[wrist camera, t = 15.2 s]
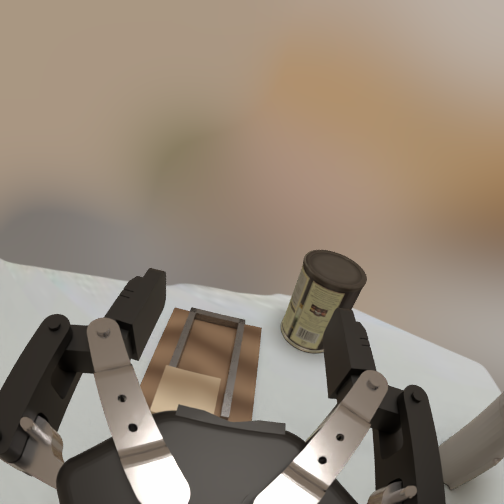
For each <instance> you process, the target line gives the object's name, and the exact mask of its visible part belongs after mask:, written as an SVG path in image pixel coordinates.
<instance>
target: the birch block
mask: <svg viewBox="0 0 504 504" xmlns="http://www.w3.org/2000/svg"><path fill="white" fill-rule="evenodd" d="M220 381H221V379H220V378H216V377H211V376H207V375H203V374H199V373H195V372H191V371H187V370H183V369H179V368H176V367H172V366H168V365H166V367H165V370H164V373H163V375H162V378H161V381H160V383H159V386H158V389H157V392H156V394H155V397H154V400H153V403H152V406H151V408H150V412H151V414H154V413H157V412H162V411H170V410H177V408H178V404H180V405H184V406H188V407H192V408H196V409H201V410H205V411H207V412H209V413H211V414H214V411H215V406H216V401H217V396H218V391H219V386H220Z"/></svg>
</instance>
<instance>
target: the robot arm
mask: <svg viewBox="0 0 504 504" xmlns="http://www.w3.org/2000/svg"><path fill="white" fill-rule="evenodd" d="M165 300H166V272H164V271H161V270H156V269H152V268H149V269H148V271H147V272H146V274H145V275H144V277H140V276H136V277H135V278H133V279H132V280H130V281H129V282H128V283H127V285H126V286H125V287H124V290H122V292H121V293H120V295H119V296H118V298H117V299H116V300H115V302H114V303H113V305H112V306H111V308H110V309H109V311H108V312H107V314H106V315H105V317H104V318H98V319H96V320H94V321H92V322H91V323H90V324H89V325H88V326H83V325H70V322H69V320H68V318H67V317H65V316H64V315H61V314H54V315H50V316H48V317H47V318H46V319H44V321H43V322H42V323H41V325H40V326H39V328H38V329H37V331H36V332H35V334H34V335H33V337H32V338H31V340H30V341H29V343H28V344H27V346H26V347H25V349H24V351H23V352H22V354H21V355H20V357H19V359H18V360H17V362H16V364H15V365H14V367H13V369H12V370H11V372H10V374H9V376H8V377H7V379H6V381H5V383H4V385H3V386H2V388H1V390H0V459H1V460H3V461H4V462H6V463H7V464H9V465H10V466H12V467H14V468H15V469H17V470H19V471H22V472H24V473H25V474H27V475H29V476H34V477H35V478H37V479H39V480H41V481H42V482H44V483H46V484H48V485H50V486H51V487H53V488H55V489H57V493H58V498H59V503H60V504H358V503H357V502H356V501H355V500H354V499H353V497H352V496H351V495H350V494H349V493H348V492H347V491H346V490H345V488H344V487H343V486H342V485H341V484H340V483H339V482H338V480H337V479H336V477H337V475H338V474H339V473H340V471H341V470H342V469H343V467H344V466H345V465H346V463H347V462H348V460H349V459H350V457H351V456H352V455H353V453H354V452H355V450H356V449H357V447H358V446H359V444H360V443H361V441H362V440H363V438H364V436H365V435H366V433H367V432H368V430H369V428H372V431H373V443H374V459H375V485H376V491H375V492H373V493H372V494H371V496H370V497H369V499H368V503H367V504H446V503H445V491H444V483H445V484H447V485H448V486H449V487H450V490H453V489H455V488H457V487H459V486H461V485H462V484H464V483H466V482H468V481H470V480H472V479H473V478H475V477H477V476H479V475H480V474H482V473H484V472H485V471H487V470H489V469H490V468H492V467H493V466H495V465H496V464H497V463H498V462H500V461H501V460H502V459H503V458H504V392H503V393H502V394H501V395H500V396H499V397H498V398H497V399H495V400H494V401H493V402H492V403H491V404H490V405H489V406H488V407H487V408H486V409H485V410H484V411H482V412H481V413H480V414H479V415H478V416H477V417H476V418H474V419H473V420H472V421H471V422H470V423H468V424H467V425H466V426H465V427H463V428H462V429H461V430H460V431H458V432H457V433H456V434H454V435H453V436H451V437H450V438H449V439H447V440H446V441H445V442H444V443H442V444H441V445H440V446H439V447H438V441H437V436H436V431H435V426H434V422H433V417H432V413H431V408H430V404H429V400H428V396H427V394H426V392H425V391H424V390H423V389H422V388H421V387H419V386H417V385H409V386H407V387H406V388H405V389H404V390H400V389H397V388H394V387H392V386H389V385H388V383H387V380H386V378H385V377H384V376H383V375H382V374H381V373H379V372H377V371H376V367H375V363H374V359H373V355H372V351H371V348H370V344H369V340H368V336H367V333H366V330H365V328H364V327H363V326H362V324H361V323H360V322H356V321H355V317H354V313H353V311H352V310H349V309H343V308H336V309H335V311H334V313H333V315H332V317H331V319H330V321H329V323H328V325H327V327H326V329H325V331H324V334H323V349H324V358H325V368H326V377H327V388H328V398H331V399H337V404H336V406H335V407H334V408H333V409H332V411H331V412H330V413H329V414H328V416H327V417H326V418H325V419H324V420H323V422H322V423H321V424H320V425H319V426H318V428H317V429H316V430H315V431H314V432H313V433H312V434H311V436H310V437H309V438H308V439H307V440H306V441H304V440H302V439H301V438H300V437H298V436H296V435H295V434H293V433H291V432H289V431H286V430H285V423H276V422H268V421H261V420H258V421H244V422H230V421H227V420H225V419H223V418H220V417H218V416H216V415H214V414H211V413H209V412H207V411H205V410H201V409H196V408H192V407H188V406H184V405H180V404H178V408H177V410H170V411H162V412H157V413H154V414H151V412H150V409H149V407H148V405H147V402H146V400H145V397H144V395H143V392H142V390H141V387H140V385H139V382H138V379H137V377H136V374H135V371H134V368H133V366H132V364H131V363H130V360H131V359H134V360H137V361H139V359H140V357H141V355H142V352H143V350H144V348H145V346H146V344H147V342H148V340H149V337H150V335H151V333H152V331H153V329H154V327H155V325H156V323H157V321H158V319H159V317H160V315H161V313H162V311H163V308H164V305H165ZM82 373H92V374H94V377H95V381H96V385H97V389H98V393H99V397H100V400H101V404H102V407H103V410H104V414H105V417H106V420H107V423H108V426H109V429H110V432H111V435H112V437H111V438H109V439H107V440H105V441H103V442H101V443H100V444H98V445H96V446H94V447H92V448H90V449H88V450H86V451H84V452H82V453H80V454H78V455H76V456H74V457H72V458H70V459H69V460H67V461H66V462H65V463H64V461H63V457H62V450H63V441H62V439H61V436H60V435H59V434H58V433H57V431H58V429H59V426H60V424H61V421H62V419H63V416H64V414H65V411H66V409H67V407H68V404H69V402H70V400H71V397H72V395H73V393H74V391H75V388H76V386H77V384H78V382H79V380H80V377H81V375H82Z"/></svg>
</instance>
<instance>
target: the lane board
mask: <svg viewBox="0 0 504 504" xmlns="http://www.w3.org/2000/svg"><path fill="white" fill-rule="evenodd" d="M261 329H262V328H260V327H255V326H250V325H246V324H245V320H243V319H239V318H234V317H230V316H225V315H221V314H217V313H213V312H208V311H204V310H200V309H196V308H191V310H190V311H186V310H183V309H179V308H174V311H173V313H172V315H171V317H170V319H169V321H168V324H167V326H166V328H165V330H164V332H163V334H162V337H161V339H160V341H159V343H158V346H157V348H156V350H155V352H154V355H153V357H152V359H151V361H150V364H149V366H148V368H147V371H146V373H145V375H144V378H143V380H142V382H141V385H140V387H141V390H142V392H143V395H144V397H145V400H146V402H147V405H148V407H149V409H150V408H151V406H152V403H153V400H154V397H155V394H156V392H157V389H158V386H159V383H160V381H161V378H162V375H163V373H164V370H165V367H166V365H168V366H172V367H176V368H179V369H183V370H187V371H191V372H195V373H199V374H203V375H207V376H211V377H216V378H220V379H221V381H220V386H219V391H218V396H217V401H216V406H215V411H214V415H216V416H218V417H220V418H223V419H225V420H227V421H230V422H244V421H252V413H253V404H254V395H255V386H256V377H257V367H258V358H259V348H260V339H261Z"/></svg>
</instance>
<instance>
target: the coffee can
mask: <svg viewBox="0 0 504 504" xmlns="http://www.w3.org/2000/svg"><path fill="white" fill-rule="evenodd" d="M366 281H367V277H366V274H365V272H364V271H363V269H362V268H361V267H360V266H359V265H358V264H357V263H355V262H354V261H352V260H351V259H349V258H347V257H345V256H343V255H341V254H338V253H335V252H331V251H327V250H313V251H310V252H308V253H307V254H306V255H305V257H304V261H303V266H302V269H301V272H300V275H299V278H298V280H297V283H296V286H295V289H294V292H293V294H292V297H291V300H290V303H289V305H288V308H287V311H286V314H285V316H284V319H283V320H282V323H281V331H282V334H283V336H284V337H285V339H286V340H287V341H288V342H289V343H290V344H291V345H292V346H294V347H296V348H298V349H300V350H302V351H305V352H310V353H320V352H324V349H323V334H324V331H325V329H326V327H327V325H328V323H329V321H330V319H331V317H332V315H333V313H334V311H335V309H336V308H343V309H349V310H351V309H352V307H353V305H354V303H355V301H356V300H357V298H358V296H359V294H360V291H361V289H362V288H363V287H364V285H365V284H366Z"/></svg>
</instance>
